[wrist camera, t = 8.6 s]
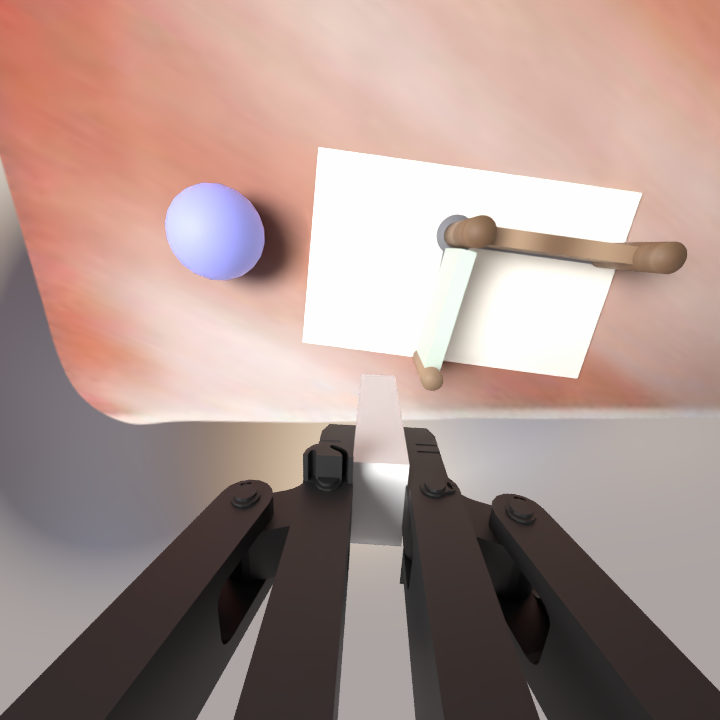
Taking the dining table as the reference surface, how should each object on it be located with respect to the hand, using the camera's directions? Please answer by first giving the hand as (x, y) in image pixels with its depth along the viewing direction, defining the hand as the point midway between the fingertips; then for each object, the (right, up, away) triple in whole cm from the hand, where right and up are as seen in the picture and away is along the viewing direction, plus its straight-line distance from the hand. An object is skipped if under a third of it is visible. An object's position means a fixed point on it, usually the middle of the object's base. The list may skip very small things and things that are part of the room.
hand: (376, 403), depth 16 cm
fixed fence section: (+13, +12, +13) cm, 22 cm away
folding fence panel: (+6, +6, +15) cm, 17 cm away
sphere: (-12, +13, +14) cm, 22 cm away
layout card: (+8, +10, +15) cm, 19 cm away
